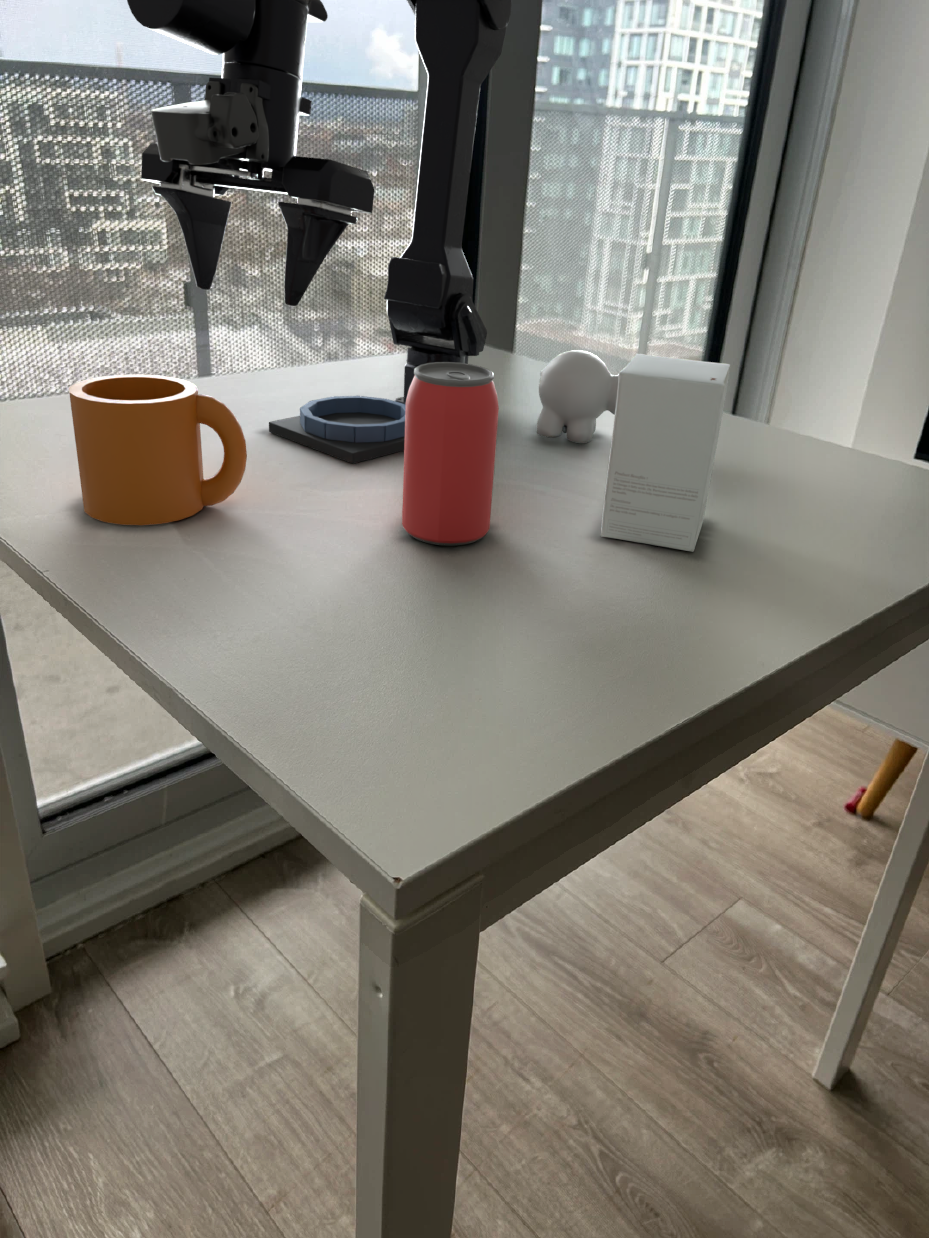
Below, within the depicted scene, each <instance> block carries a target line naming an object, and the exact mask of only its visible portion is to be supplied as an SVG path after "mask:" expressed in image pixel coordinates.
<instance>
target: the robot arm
mask: <svg viewBox="0 0 929 1238" xmlns="http://www.w3.org/2000/svg"><path fill="white" fill-rule="evenodd" d="M126 1H127V5H128V8H129V10H130V13H131V14H132V16H133V17H134V18H135V20H136V21H137V22H138V23H139V24H140V25H141V26H143V27H145V28H146V29H149V30H152V31H155V32H156V33H159V34H162V35H165V36H166V37H170V38H172V39H174V40H177V41H179V42H182V43H184V44H187V45H189V46H192V47H194V48H196V49H199V50H202V51H204V52H206V53H209V54H210V55H216V56H217V55H222V65H221V66H222V67H221V77H209V78H208V81H207V82H206V84H205V90H204V91H205V92H204V99H203V100H198V101H197V100H196V101H189V102H182V103H179V104H172V105H168V106H162V107H157V108H153V109H150V114H151V118H152V123H153V124H152V125H153V129H154V133H155V138H156V142H151V143H150V144H149V145H148V146H147V147H146V148H145V149H144V150H143V152H141V173H140V178H141V180H142V181H146V182H150V183H154V184H159V186H155V185H152V186H151V187H152V190H153V192H154V194H155V195H158V196H162V198H163V199H164V200H165V202H166V203H167V204H168V206H170V208H171V210H173V212H174V214H175V215H176V217H177V221H178V223H179V227H180V228H181V232H182V234H183V238H184V239H183V240H184V242H185V246H186V249H187V253H188V257H189V261H190V265H191V269H192V272H193V277H194V280H195V284H196V287H197V288H198V289H200V290H206V291H209V290H211V288H212V285H213V282H214V279H215V276H216V272H217V269H218V265H219V261H220V255H221V251H222V246H223V242H224V238H225V233H226V229H227V224H228V220H229V215H230V213H231V207H232V201H231V200H225V199H221V198H216V197H215V196H224V195H225V194H226V193H227V191H228V190H229V189H230V188H232V189H233V188H234V189H241V190H250V191H259V192H268V193H273V194H274V193H276V194H284V195H288V197H289V198H292V199H293V198H294V199H297V200H296V202H295V203H293V202H287V201H278V202H277V204H278V207H279V210H280V212H281V214H282V217H283V220H284V222H285V225H286V229H287V237H286V251H285V266H284V267H285V268H284V278H283V279H284V280H283V281H284V283H283V288H284V289H283V290H284V291H283V292H284V294H283V295H284V304H285V305H286V306H291V307H297V306H298V305H299V303H300V302H301V300H302V299H303V297H304V295H305V293H306V291H307V290H308V289H309V286H310V284H311V283H312V281H313V280H314V278H315V276H316V274H317V273H318V271H319V269H320V267H321V266H322V265H323V263H324V261H325V259H326V257H327V255H328V254H329V253H330V251H331V250H332V249H333V247H334V246H335V244H336V243H337V241H338V240H339V238H340V237H341V236H342V234H343V233H344V231H345V230H346V229H347V227H348V226H349V225H357V223H358V217H357V216H353V215H352V213H353V212H354V213H361V214H362V213H363V214H373V208H374V201H375V200H374V199H375V187H374V184H373V182H372V178H371V177H370V174H369V172H368V171H367V170H364V169H361V168H359V167H356V166H352V165H349V164H346V163H343V162H339V161H336V160H333V159H330V158H321V157H320V158H319V157H311V156H298V155H297V144H298V135H299V134H298V133H299V122H300V116H308V117H309V116H312V114H311V113H312V104H313V101H312V100H311V99H308V98H306V97H304V96H302V87H303V86H302V85H303V75H304V61H305V52H306V51H305V50H306V40H307V39H306V38H307V28H308V23H325V22H327V20H328V17H329V15H328V11H327V9H326V7H325V5H324V3H323V2H322V0H126ZM406 2H407V5H408V6H409V8H410V10H411V12H412V14H413V15H414V41H415V42H414V43H415V45H416V48H417V50H418V54H419V55H420V58H421V60H422V63H423V65H424V68H425V71H426V73H427V86H426V95H425V106H424V115H423V126H422V134H421V135H422V136H421V145H420V155H419V163H418V164H419V166H418V175H417V185H416V195H415V205H414V213H413V225H412V233H411V234H412V235H411V239H410V243H409V244H408V246H407V247H406V248H405V250H404V251H403V252H402V254H401V256H400V257H398V256H392V257H391V258H390V260H389V262H388V264H387V284H386V290H385V293H384V296H383V299H384V300H386V301H385V302H386V305H385V306H386V314H387V315H386V316H387V318H388V322H389V328H390V332H391V337H392V342H393V345H395V346H404V347H407V348H406V363H405V364H404V370H403V371H404V372H403V373H404V374H403V375H404V376H403V396H401V397H397V398H394V401H396V402H399V403H402V404H405V405H406V399H407V395H408V391H409V388H410V385H411V383H412V381H413V378H414V376H415V374H414V369H415V368H416V367H418V366H419V365H422V364H427V363H435V362H455V363H465V364H469V357H477V356H480V353H482V352H483V351H484V349H485V345H486V341H487V340H486V339H487V336H488V329H487V328H486V327H487V326H486V325H485V323H484V321H483V319H482V318H481V315H480V313H479V311H478V309H477V307H476V305H475V304H474V301H473V294H474V293H473V292H474V291H473V289H474V277H473V274H472V271H471V269H470V267H469V264H468V262H467V259H466V256H465V255H464V254H465V253H464V252H463V248H462V246H463V245H462V243H463V237H464V227H465V219H466V209H467V202H468V193H469V185H470V176H471V169H472V160H473V151H474V143H475V142H474V141H475V136H476V135H475V134H476V126H477V118H478V110H479V101H480V94H481V93H480V92H481V86H482V84H483V82H484V81H485V79H486V78H487V76H488V75H489V73H490V72H491V70H492V68H494V66H495V64H496V63H497V61H498V60H499V58H500V57H501V55H502V52H503V48H504V42H505V38H506V33H507V28H508V24H509V22H510V18H511V15H512V6H513V5H512V4H513V3H512V0H406ZM265 171H266V172H271V177H266V176H265V177H264V172H265Z"/></svg>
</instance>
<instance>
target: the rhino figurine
mask: <svg viewBox="0 0 929 1238" xmlns="http://www.w3.org/2000/svg"><path fill="white" fill-rule="evenodd" d="M539 375H540V379H539V381H538V395H539V400H540V403H541V405H542V407H541V410H540V412H539V415H538V417H537V421H536V429H535V430H536V433H537V435H538V436H540V437H544V438H557V437H561V436H562V434H563V433H564V434H565V436H566V439H567V440H568V441H570V442H572V443H575V444H587V443H590V442H591V441H593V436H594V433H595V431H596V427H597V419H598V418H599V417H600V416H602V414H603V413H604V412H606V411H608V412H610V413H611V414H612V415H614V416H615V409H616V401H617V392H618V379H619V373H618V374H612V373H611V372H610V370H609V369H608V366H607V365H606V363H605V362H604V361H603V360H602V359H601V358H600V357H598V356H597V355H595V354H594V353H592V352H590V351H587V350H581V349H574V350H568V351H564V352H561V353H559V354H557V355H556V356H555V357H553V358H552V359H551V360H550V361H549V362H548V363H546V365H545V366H544V367H543V368H542V369H541V371H540V373H539Z"/></svg>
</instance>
